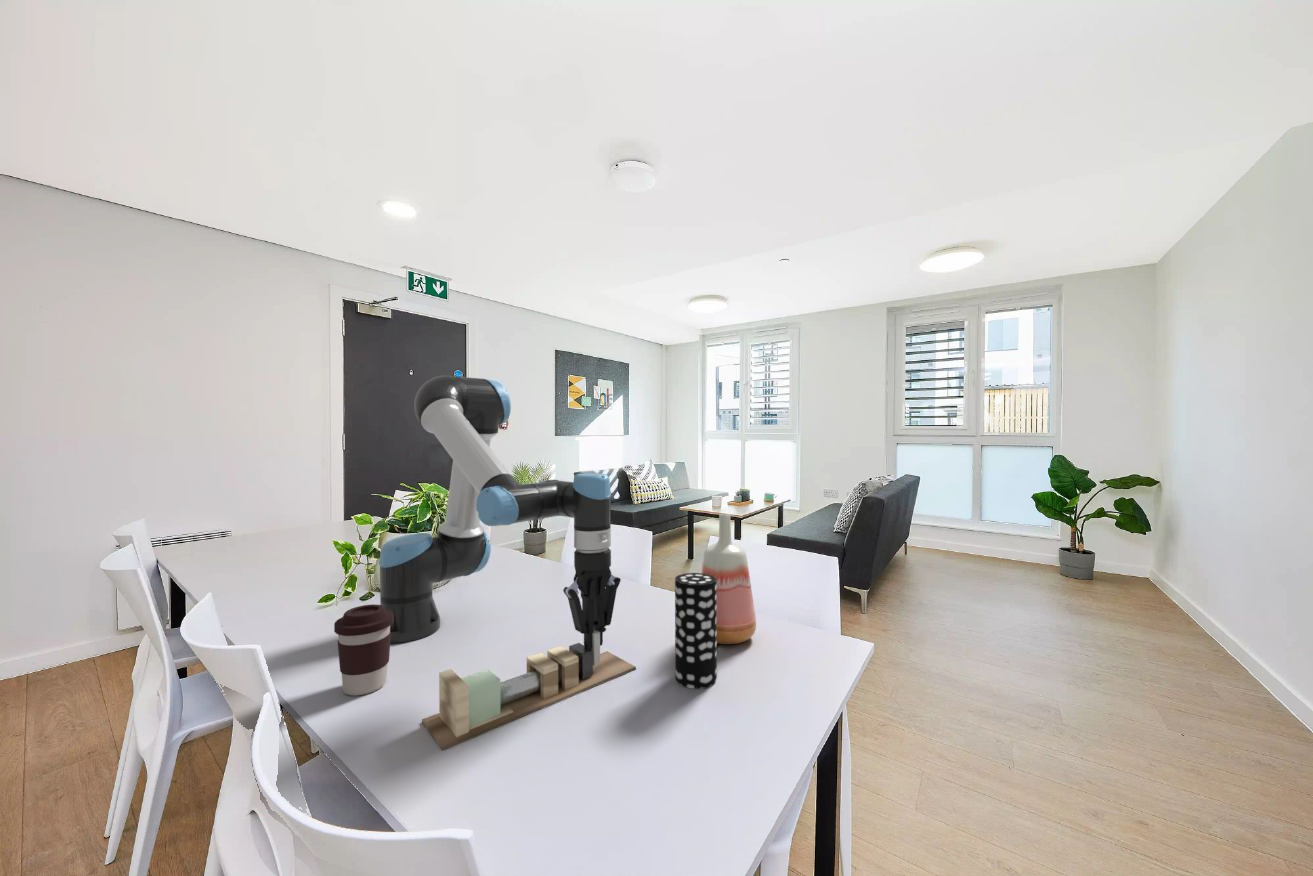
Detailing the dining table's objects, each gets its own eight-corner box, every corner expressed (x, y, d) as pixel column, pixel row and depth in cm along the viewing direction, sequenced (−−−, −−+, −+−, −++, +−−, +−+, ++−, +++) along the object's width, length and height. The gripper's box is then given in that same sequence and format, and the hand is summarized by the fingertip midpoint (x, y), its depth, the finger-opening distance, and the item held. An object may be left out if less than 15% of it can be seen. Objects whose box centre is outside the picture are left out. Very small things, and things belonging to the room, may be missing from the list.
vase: (687, 644, 114) (687, 517, 114) (705, 622, 128) (705, 508, 128) (749, 654, 109) (749, 521, 109) (761, 630, 122) (760, 511, 122)
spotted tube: (720, 671, 101) (720, 575, 101) (711, 691, 93) (711, 586, 93) (681, 665, 104) (681, 571, 103) (669, 684, 96) (669, 582, 96)
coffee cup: (367, 703, 89) (366, 621, 89) (321, 697, 91) (321, 617, 91) (405, 677, 99) (405, 603, 99) (363, 672, 101) (362, 599, 101)
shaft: (488, 700, 89) (488, 673, 89) (579, 666, 102) (578, 642, 102) (500, 712, 85) (500, 683, 85) (592, 675, 98) (592, 650, 98)
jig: (422, 722, 83) (421, 675, 83) (607, 653, 110) (607, 617, 110) (442, 750, 76) (442, 698, 76) (635, 669, 102) (635, 630, 102)
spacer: (454, 715, 84) (454, 680, 84) (488, 702, 88) (488, 669, 88) (465, 727, 81) (465, 691, 81) (500, 713, 85) (500, 679, 85)
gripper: (575, 557, 94) (576, 680, 94) (628, 546, 102) (629, 658, 103) (555, 550, 99) (556, 666, 100) (607, 541, 108) (608, 647, 108)
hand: (593, 662), depth 101 cm, fingers closed
